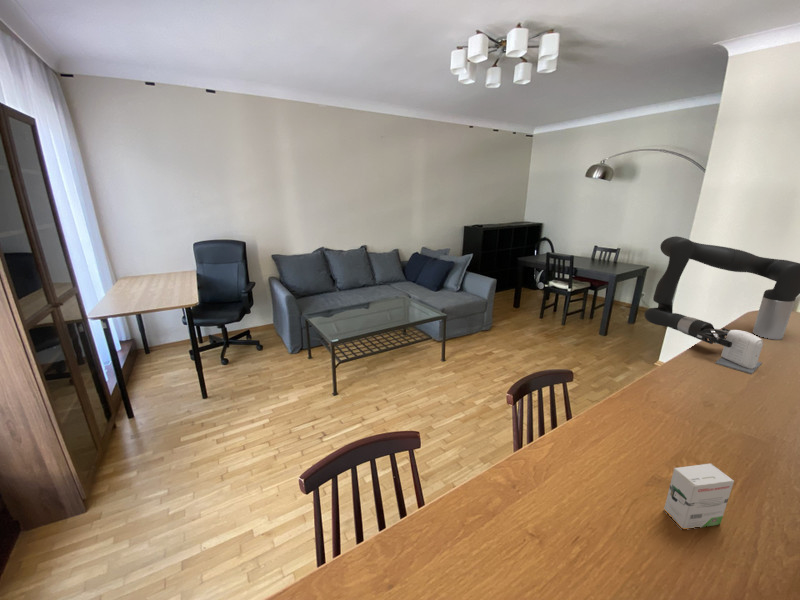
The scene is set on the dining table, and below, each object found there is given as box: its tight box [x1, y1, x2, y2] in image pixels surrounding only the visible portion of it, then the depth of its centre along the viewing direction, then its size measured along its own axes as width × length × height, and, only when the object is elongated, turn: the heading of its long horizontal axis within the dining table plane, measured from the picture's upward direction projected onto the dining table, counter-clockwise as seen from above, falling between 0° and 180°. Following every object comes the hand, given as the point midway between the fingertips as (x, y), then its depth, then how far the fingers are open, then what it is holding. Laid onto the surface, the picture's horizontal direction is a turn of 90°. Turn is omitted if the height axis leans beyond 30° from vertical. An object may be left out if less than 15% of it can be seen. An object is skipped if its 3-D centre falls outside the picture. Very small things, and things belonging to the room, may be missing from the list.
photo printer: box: [720, 329, 764, 369], centre depth 124 cm, size 10×4×12 cm, turn 8°
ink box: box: [663, 462, 735, 529], centre depth 68 cm, size 9×5×12 cm, turn 96°
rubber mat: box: [714, 356, 762, 375], centre depth 126 cm, size 12×10×1 cm
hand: (740, 343), depth 125 cm, fingers open, 8 cm apart
